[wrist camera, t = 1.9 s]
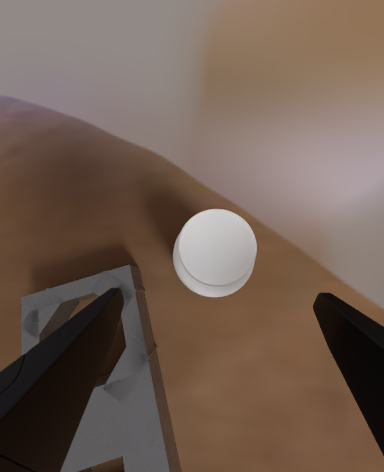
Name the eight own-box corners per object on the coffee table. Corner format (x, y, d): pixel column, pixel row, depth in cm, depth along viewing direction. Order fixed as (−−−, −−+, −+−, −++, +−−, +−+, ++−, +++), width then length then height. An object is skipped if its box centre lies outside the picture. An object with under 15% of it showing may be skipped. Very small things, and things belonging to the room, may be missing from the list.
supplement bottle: (176, 285, 18) (148, 282, 8) (190, 235, 19) (179, 185, 10) (229, 300, 17) (262, 316, 8) (239, 247, 19) (279, 206, 9)
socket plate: (196, 532, 13) (195, 588, 10) (56, 583, 12) (22, 653, 10) (140, 265, 19) (130, 262, 16) (43, 294, 18) (19, 296, 16)
